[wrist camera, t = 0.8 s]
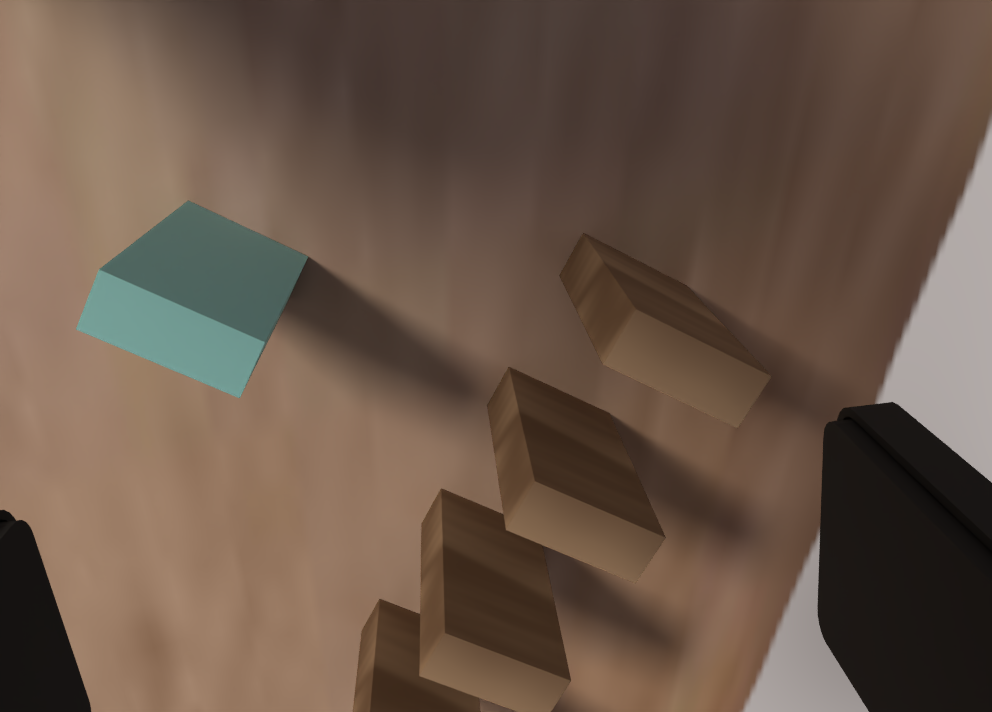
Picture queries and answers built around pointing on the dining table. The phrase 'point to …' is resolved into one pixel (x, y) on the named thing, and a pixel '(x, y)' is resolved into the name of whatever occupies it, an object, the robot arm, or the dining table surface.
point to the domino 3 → (569, 478)
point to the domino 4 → (660, 333)
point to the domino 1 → (399, 668)
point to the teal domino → (195, 296)
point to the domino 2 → (488, 609)
